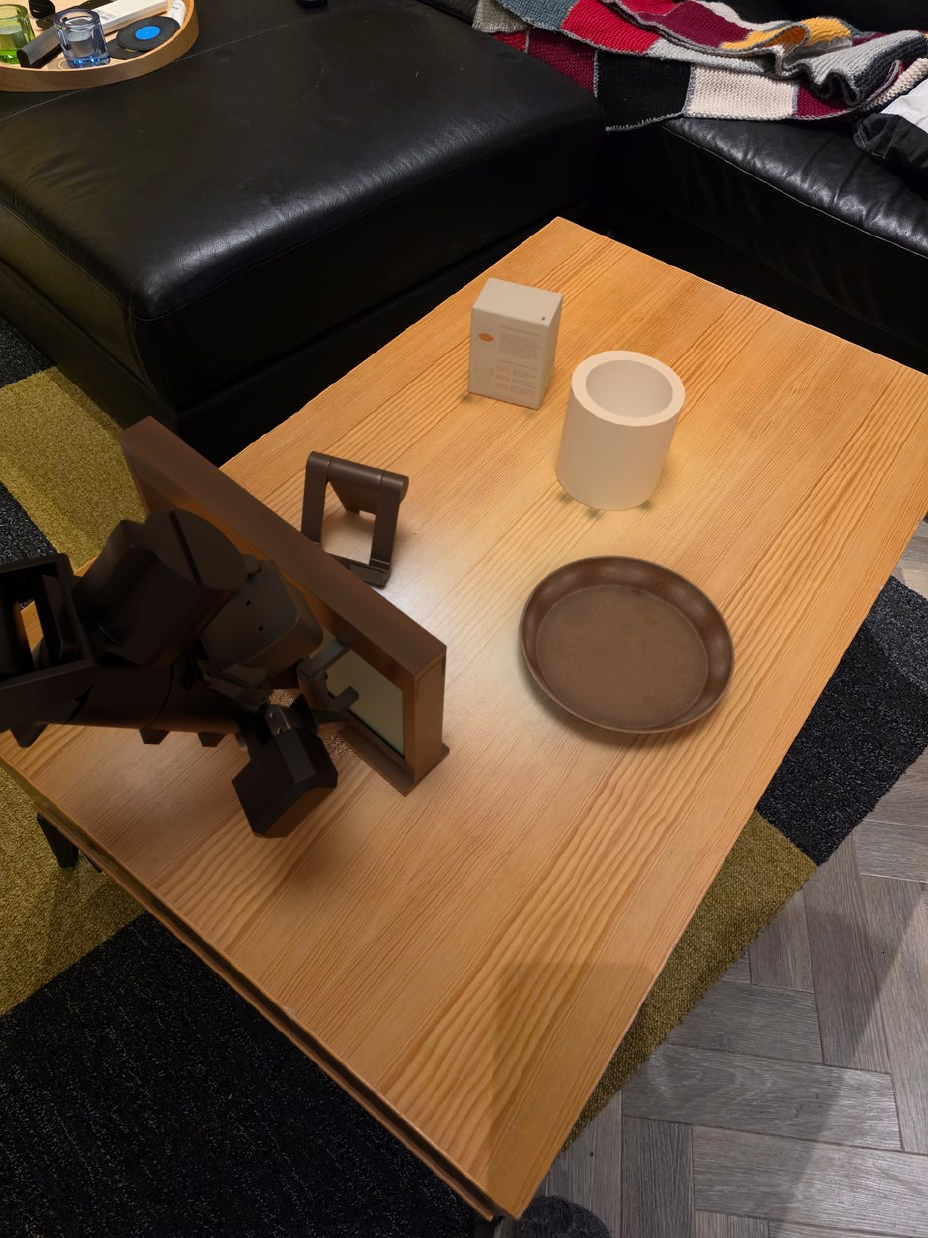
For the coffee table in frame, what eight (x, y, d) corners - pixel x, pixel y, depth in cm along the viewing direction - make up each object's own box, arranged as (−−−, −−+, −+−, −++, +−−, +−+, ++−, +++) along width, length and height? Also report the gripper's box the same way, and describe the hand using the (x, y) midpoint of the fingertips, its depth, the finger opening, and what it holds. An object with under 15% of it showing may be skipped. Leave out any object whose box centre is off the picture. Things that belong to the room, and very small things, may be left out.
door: (361, 796, 65) (352, 716, 55) (271, 714, 68) (247, 626, 58) (414, 746, 67) (414, 661, 57) (324, 670, 71) (309, 578, 61)
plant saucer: (616, 544, 81) (623, 522, 79) (767, 670, 74) (779, 650, 72) (472, 643, 74) (474, 622, 72) (624, 794, 67) (632, 776, 64)
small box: (552, 379, 95) (566, 293, 86) (538, 411, 92) (550, 326, 83) (482, 360, 96) (488, 274, 87) (465, 392, 93) (470, 306, 84)
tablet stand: (290, 563, 78) (278, 499, 72) (325, 502, 83) (317, 436, 76) (383, 590, 77) (380, 527, 70) (413, 527, 82) (413, 462, 75)
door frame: (405, 797, 66) (402, 685, 53) (157, 579, 77) (104, 441, 63) (449, 753, 68) (458, 636, 55) (203, 547, 79) (160, 408, 66)
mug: (578, 405, 92) (595, 319, 84) (673, 430, 91) (701, 345, 82) (543, 493, 85) (558, 408, 76) (646, 522, 83) (673, 438, 75)
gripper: (285, 719, 43) (472, 734, 55) (167, 470, 52) (350, 531, 64) (163, 850, 47) (363, 837, 59) (73, 598, 56) (262, 632, 68)
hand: (335, 700), depth 62 cm, fingers open, 4 cm apart
